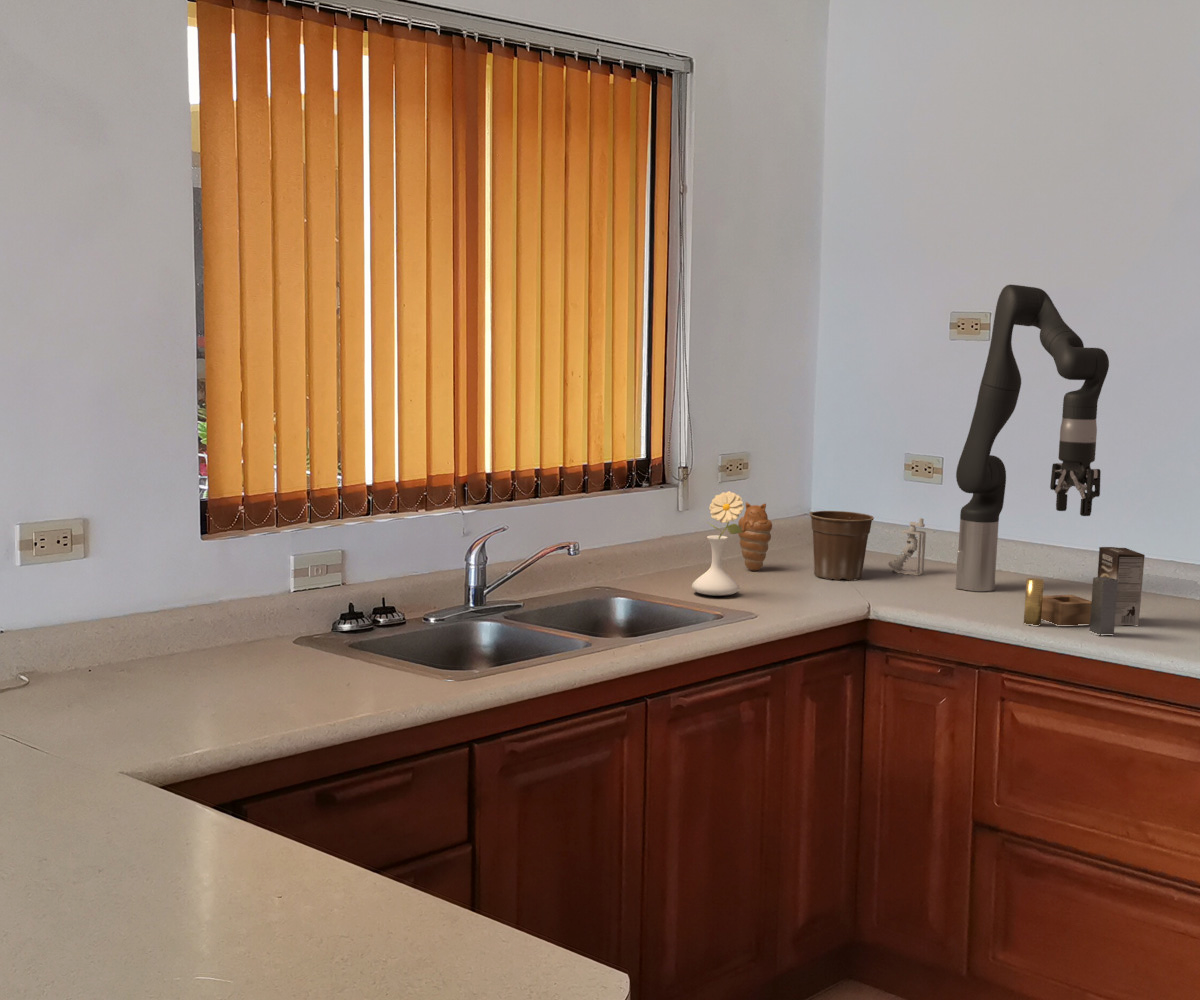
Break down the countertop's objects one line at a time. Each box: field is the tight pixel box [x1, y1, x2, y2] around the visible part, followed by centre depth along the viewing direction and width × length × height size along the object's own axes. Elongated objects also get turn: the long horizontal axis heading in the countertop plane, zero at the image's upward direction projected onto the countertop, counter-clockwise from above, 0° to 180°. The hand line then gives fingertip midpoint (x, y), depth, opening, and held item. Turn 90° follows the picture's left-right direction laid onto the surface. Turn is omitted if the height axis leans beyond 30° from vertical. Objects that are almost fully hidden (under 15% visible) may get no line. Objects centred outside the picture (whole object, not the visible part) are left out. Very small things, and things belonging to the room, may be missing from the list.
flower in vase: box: [691, 490, 745, 597], centre depth 311 cm, size 13×11×25 cm
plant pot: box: [809, 510, 875, 581], centre depth 339 cm, size 16×16×16 cm
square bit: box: [1089, 576, 1118, 635], centre depth 280 cm, size 4×4×12 cm
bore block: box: [1041, 594, 1092, 625], centre depth 292 cm, size 9×9×5 cm
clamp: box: [887, 517, 927, 576], centre depth 347 cm, size 4×10×15 cm, turn 54°
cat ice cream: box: [737, 502, 773, 572], centre depth 344 cm, size 9×8×18 cm
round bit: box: [1023, 577, 1045, 625], centre depth 288 cm, size 4×4×10 cm
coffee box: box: [1097, 546, 1146, 625], centre depth 293 cm, size 9×6×16 cm
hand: (1073, 513), depth 289 cm, fingers open, 8 cm apart
